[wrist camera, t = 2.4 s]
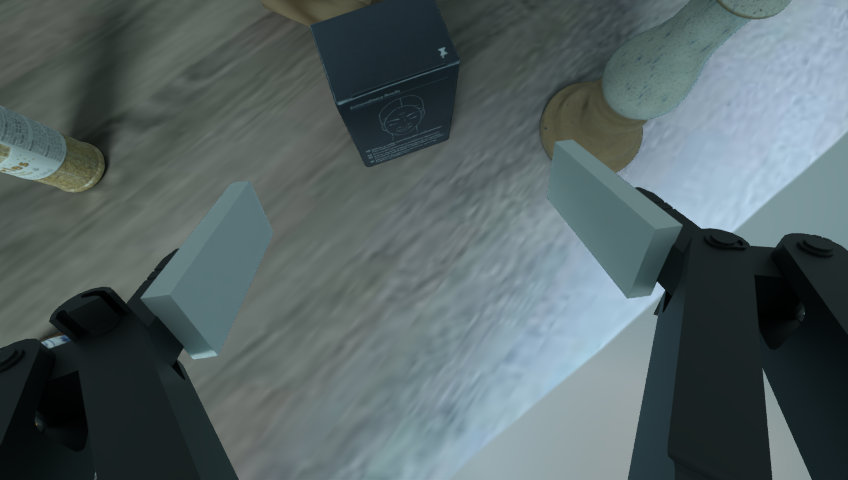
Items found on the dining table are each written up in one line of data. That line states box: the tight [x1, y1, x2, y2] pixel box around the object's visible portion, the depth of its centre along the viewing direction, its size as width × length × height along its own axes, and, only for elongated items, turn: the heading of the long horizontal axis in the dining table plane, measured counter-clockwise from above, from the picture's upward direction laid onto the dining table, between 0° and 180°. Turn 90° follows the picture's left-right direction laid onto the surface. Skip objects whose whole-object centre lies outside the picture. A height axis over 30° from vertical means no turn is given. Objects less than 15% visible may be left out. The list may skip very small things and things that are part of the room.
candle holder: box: [540, 0, 792, 173], centre depth 20 cm, size 9×9×20 cm
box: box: [310, 0, 460, 167], centre depth 25 cm, size 8×6×11 cm
